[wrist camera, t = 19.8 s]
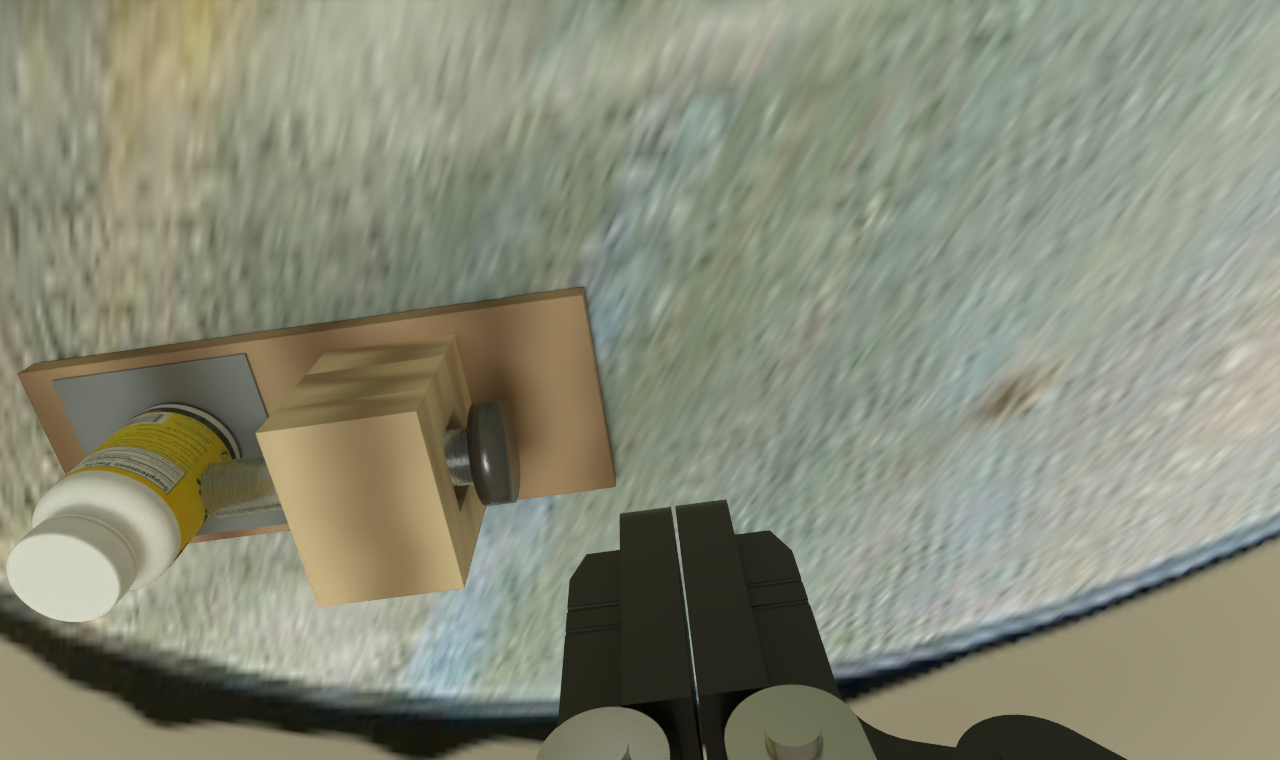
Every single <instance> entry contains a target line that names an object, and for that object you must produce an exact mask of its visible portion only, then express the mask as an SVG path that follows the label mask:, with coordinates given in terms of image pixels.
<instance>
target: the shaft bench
mask: <svg viewBox="0 0 1280 760" xmlns="http://www.w3.org/2000/svg"><path fill="white" fill-rule="evenodd" d="M18 376H19V378H20V380H21V383H22V385H23V387H24V389H25V391H26V393H27V395H28V397H29V399H30V401H31V403H32V406H33V408H34V410H35V412H36V414H37V416H38V418H39V420H40V422H41V424H42V426H43V428H44V431H45V433H46V435H47V437H48V439H49V441H50V443H51V445H52V447H53V449H54V451H55V453H56V456H57V458H58V460H59V462H60V464H61V466H62V468H63V470H64V472H65V474H67V473H68V472H70V471H71V470H72V469H73V468H74V467H76V466H77V465H78V464H79V463H80V462H81V461H83V460H84V459H85V458H86V457H87V456H88V455H90V454H91V453H92V452H93V451H94V450H95V449H97V447H99V446H100V445H101V444H102V443H104V442H105V441H106V440H107V439H108V438H109V437H111V436H112V435H113V434H114V433H115V432H116V431H117V430H119V429H120V428H121V427H122V426H123V425H125V424H126V423H127V422H128V421H129V420H131V419H132V418H133V417H134V416H136V415H137V414H139V413H140V412H142V411H144V410H146V409H148V408H151V407H154V406H158V405H163V404H179V405H185V406H190V407H193V408H196V409H198V410H201V411H203V412H205V413H207V414H209V415H210V416H212V417H213V418H215V419H216V420H218V421H219V422H220V423H221V424H222V425H223V426H224V427H225V428H226V429H227V430H228V431H229V432H230V434H231V435H232V437H233V438H234V440H235V442H236V444H237V447H238V450H239V454H240V458H246V457H253V456H261V455H263V456H264V459H265V461H266V464H267V467H268V470H269V472H270V475H271V478H272V481H273V483H274V486H275V489H276V492H277V494H278V497H279V500H280V503H281V505H282V508H283V509H282V510H274V511H267V512H259V513H252V514H244V515H237V516H229V517H222V518H215V517H213V516H210V517H209V518H208V519H207V520H206V522H205V523H204V524H203V525H202V527H201V528H200V529H199V530H198V532H197V533H196V534H195V535H194V537H193V538H192V539H191V541H190V542H189V543H196V542H203V541H211V540H218V539H226V538H233V537H241V536H248V535H256V534H263V533H271V532H279V531H286V530H291V533H292V535H293V538H294V541H295V544H296V546H297V549H298V552H299V555H300V557H301V560H302V563H303V566H304V568H305V571H306V574H307V577H308V579H309V582H310V585H311V587H312V590H313V593H314V596H315V598H316V601H317V604H318V607H323V606H331V605H339V604H347V603H354V602H362V601H370V600H377V599H385V598H393V597H401V596H408V595H416V594H424V593H432V592H439V591H447V590H455V589H462V588H465V584H466V580H467V577H468V573H469V569H470V565H471V562H472V558H473V554H474V550H475V546H476V543H477V539H478V535H479V531H480V527H481V524H482V520H483V516H484V512H485V509H486V506H484V505H483V504H482V503H481V501H480V500H479V498H478V495H477V493H476V490H475V487H474V484H469V485H462V486H454V487H453V484H452V480H451V476H450V472H449V469H448V465H447V461H446V457H445V453H444V450H443V446H442V442H441V440H442V438H443V435H444V433H445V430H453V429H460V428H467V418H468V412H469V408H470V406H471V405H472V404H473V403H476V402H484V401H491V400H498V399H504V400H505V401H506V403H507V405H508V407H509V409H510V412H511V415H512V418H513V422H514V426H515V431H516V436H517V442H518V450H519V459H520V491H519V497H518V500H520V499H528V498H535V497H543V496H550V495H558V494H565V493H573V492H581V491H588V490H596V489H603V488H611V487H616V474H615V468H614V462H613V457H612V451H611V445H610V439H609V433H608V427H607V422H606V416H605V410H604V404H603V398H602V392H601V387H600V381H599V375H598V369H597V363H596V357H595V352H594V346H593V340H592V334H591V328H590V323H589V317H588V311H587V305H586V299H585V293H584V288H583V287H579V288H572V289H565V290H557V291H550V292H543V293H536V294H529V295H522V296H515V297H508V298H500V299H493V300H486V301H479V302H472V303H465V304H458V305H450V306H443V307H436V308H429V309H422V310H415V311H408V312H400V313H393V314H386V315H379V316H372V317H365V318H358V319H350V320H343V321H336V322H329V323H322V324H315V325H308V326H300V327H293V328H286V329H279V330H272V331H265V332H258V333H251V334H243V335H236V336H229V337H222V338H215V339H208V340H201V341H193V342H186V343H179V344H172V345H165V346H158V347H151V348H143V349H136V350H129V351H122V352H115V353H108V354H101V355H93V356H86V357H79V358H72V359H65V360H58V361H51V362H43V363H36V364H33V365H31V366H30V367H28V368H26V369H25V370H23V371H21V372H20V373H18Z"/></svg>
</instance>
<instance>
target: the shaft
mask: <svg viewBox="0 0 1280 760" xmlns="http://www.w3.org/2000/svg"><path fill="white" fill-rule="evenodd" d="M441 442H442V446H443V450H444V453H445V457H446V461H447V465H448V469H449V472H450V476H451V480H452V484H453V487H454V486H462V485H469V484H474V487H475V490H476V493H477V495H478V498H479V500H480V501H481V503H482V504H483V505H484V506H492V505H500V504H507V503H515V502H516V501H517V500H518V497H519V491H520V459H519V450H518V442H517V436H516V431H515V426H514V422H513V418H512V415H511V412H510V409H509V407H508V405H507V403H506V401H505V400H504V399H498V400H491V401H484V402H476V403H473V404H472V405H471V406H470V408H469V412H468V418H467V428H460V429H453V430H445V433H444V435H443V438H442V440H441ZM200 490H201V497H202V501H203V504H204V506H205V508H206V510H207V512H208V513H209V514H210V515H211V516H213V517H215V518H222V517H229V516H237V515H244V514H252V513H259V512H267V511H274V510H282V509H283V508H282V505H281V503H280V500H279V497H278V494H277V492H276V489H275V486H274V483H273V481H272V478H271V475H270V472H269V470H268V467H267V464H266V461H265V459H264V456H263V455H261V456H253V457H246V458H239V459H231V460H224V461H217V462H211V463H209V464H208V465H207V466H206V467H205V469H204V471H203V473H202V477H201V484H200Z"/></svg>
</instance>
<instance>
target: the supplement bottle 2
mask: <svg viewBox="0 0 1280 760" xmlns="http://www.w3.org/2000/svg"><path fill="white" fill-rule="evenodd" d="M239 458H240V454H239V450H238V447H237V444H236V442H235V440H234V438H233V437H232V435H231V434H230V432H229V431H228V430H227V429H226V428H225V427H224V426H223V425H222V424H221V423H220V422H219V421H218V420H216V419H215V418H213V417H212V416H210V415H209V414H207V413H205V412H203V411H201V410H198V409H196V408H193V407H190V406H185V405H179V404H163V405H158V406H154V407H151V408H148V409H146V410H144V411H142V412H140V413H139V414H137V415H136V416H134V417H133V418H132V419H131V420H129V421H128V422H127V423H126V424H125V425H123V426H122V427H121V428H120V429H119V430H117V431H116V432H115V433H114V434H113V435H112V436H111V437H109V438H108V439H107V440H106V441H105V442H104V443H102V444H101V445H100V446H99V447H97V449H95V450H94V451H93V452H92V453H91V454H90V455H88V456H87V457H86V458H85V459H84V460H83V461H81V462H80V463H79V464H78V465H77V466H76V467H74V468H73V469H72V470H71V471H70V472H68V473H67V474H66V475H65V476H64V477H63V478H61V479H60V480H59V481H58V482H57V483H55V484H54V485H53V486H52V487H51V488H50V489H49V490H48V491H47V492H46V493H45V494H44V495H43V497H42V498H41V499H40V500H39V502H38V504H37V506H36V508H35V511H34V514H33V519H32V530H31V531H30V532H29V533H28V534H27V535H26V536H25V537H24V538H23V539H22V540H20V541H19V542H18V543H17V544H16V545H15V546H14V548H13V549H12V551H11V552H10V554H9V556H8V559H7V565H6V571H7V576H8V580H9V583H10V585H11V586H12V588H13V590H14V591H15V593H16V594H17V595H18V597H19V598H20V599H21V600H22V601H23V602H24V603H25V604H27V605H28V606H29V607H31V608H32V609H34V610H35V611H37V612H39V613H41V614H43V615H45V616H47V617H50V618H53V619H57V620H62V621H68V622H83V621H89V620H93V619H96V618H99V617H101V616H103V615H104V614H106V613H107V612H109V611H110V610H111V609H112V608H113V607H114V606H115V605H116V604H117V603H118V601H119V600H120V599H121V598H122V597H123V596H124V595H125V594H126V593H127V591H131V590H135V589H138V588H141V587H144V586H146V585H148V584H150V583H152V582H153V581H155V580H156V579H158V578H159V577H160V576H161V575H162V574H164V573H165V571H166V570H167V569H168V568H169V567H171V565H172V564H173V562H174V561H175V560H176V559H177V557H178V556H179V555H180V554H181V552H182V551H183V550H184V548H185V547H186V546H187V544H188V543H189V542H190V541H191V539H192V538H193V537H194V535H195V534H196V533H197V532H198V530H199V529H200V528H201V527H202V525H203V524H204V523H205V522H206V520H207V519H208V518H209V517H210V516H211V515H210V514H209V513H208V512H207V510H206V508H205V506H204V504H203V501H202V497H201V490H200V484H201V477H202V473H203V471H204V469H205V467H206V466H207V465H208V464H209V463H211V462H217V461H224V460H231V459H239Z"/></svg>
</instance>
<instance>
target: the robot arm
mask: <svg viewBox="0 0 1280 760" xmlns="http://www.w3.org/2000/svg"><path fill="white" fill-rule="evenodd" d="M675 507H676V516H677V524H678V532H679V540H680V549H681V557H682V565H683V573H684V582H685V590H686V598H687V606H688V615H689V623H690V631H691V639H692V648H693V656H694V664H695V673H696V681H697V689H698V697H699V704H700V711H701V718H702V725H703V732H704V739H705V746H706V753H707V760H1127V759H1125V758H1123V757H1121V756H1120V755H1117V754H1116V753H1114V752H1112V751H1110V750H1108V749H1106V748H1105V747H1102V746H1101V745H1099V744H1097V743H1095V742H1093V741H1092V740H1090V739H1088V738H1086V737H1084V736H1082V735H1080V734H1078V733H1077V732H1075V731H1073V730H1071V729H1069V728H1067V727H1064V726H1062V725H1060V724H1058V723H1055V722H1052V721H1049V720H1046V719H1042V718H1038V717H1033V716H1026V715H1002V716H996V717H992V718H989V719H986V720H983V721H981V722H979V723H977V724H975V725H973V726H972V727H971V728H970V729H968V730H967V731H966V732H965V733H964V734H963V736H962V737H961V738H960V740H959V742H958V744H957V746H956V748H955V747H948V746H942V745H935V744H929V743H922V742H915V741H910V740H906V739H901V738H898V737H895V736H892V735H889V734H886V733H884V732H882V731H880V730H878V729H875V728H874V727H872V726H870V725H869V724H867V723H866V722H864V721H863V720H861V719H860V718H859V717H858V716H857V715H855V714H854V712H853V711H852V710H851V709H850V707H849V706H847V705H846V703H845V702H844V700H843V699H842V697H841V695H840V693H839V691H838V689H837V686H836V683H835V680H834V677H833V674H832V671H831V668H830V664H829V661H828V658H827V655H826V652H825V649H824V646H823V643H822V640H821V637H820V634H819V631H818V628H817V625H816V622H815V619H814V616H813V613H812V610H811V607H810V605H809V603H808V598H807V595H806V591H805V588H804V585H803V582H801V576H800V573H799V570H798V567H797V564H796V561H795V558H794V555H793V552H792V550H791V549H790V548H788V547H787V546H786V545H785V544H784V543H783V542H782V541H781V540H780V539H779V538H777V537H776V536H775V535H774V534H773V533H772V532H771V531H770V530H768V531H761V532H753V533H745V534H737V535H734V530H733V526H732V522H731V517H730V513H729V508H728V504H727V501H726V500H718V501H711V502H703V503H696V504H688V505H680V506H675ZM536 760H704V758H703V749H702V741H701V732H700V724H699V715H698V707H697V698H696V690H695V681H694V673H693V664H692V656H691V647H690V639H689V631H688V623H687V616H686V608H685V601H684V594H683V587H682V580H681V573H680V566H679V559H678V552H677V545H676V538H675V531H674V524H673V517H672V510H671V507H667V508H659V509H652V510H644V511H636V512H629V513H621V514H620V550H616V551H608V552H601V553H593V554H587V555H586V556H585V558H584V559H583V561H582V562H581V564H580V565H579V567H578V568H577V570H576V571H575V573H574V574H573V576H572V577H571V579H570V583H569V596H568V613H567V620H566V636H565V644H564V657H563V669H562V681H561V693H560V706H559V718H558V726H557V728H556V729H555V730H554V731H553V732H552V733H551V734H550V735H549V736H548V738H547V739H546V740H545V742H544V743H543V745H542V747H541V749H540V751H539V753H538V755H537V758H536Z"/></svg>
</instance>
